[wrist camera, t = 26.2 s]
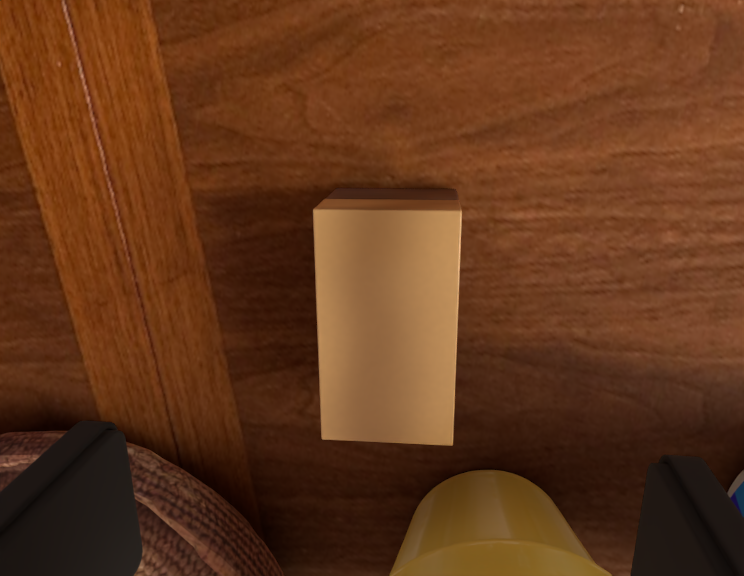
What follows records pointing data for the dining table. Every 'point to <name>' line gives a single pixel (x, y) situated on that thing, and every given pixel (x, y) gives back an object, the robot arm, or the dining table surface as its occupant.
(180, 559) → the basket
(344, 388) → the eraser
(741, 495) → the beer can
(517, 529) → the flower pot
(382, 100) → the dining table surface
